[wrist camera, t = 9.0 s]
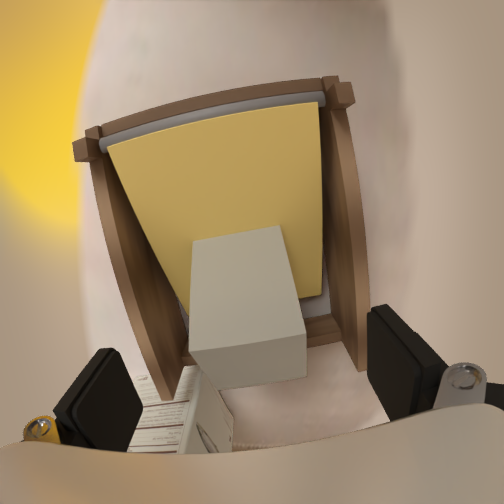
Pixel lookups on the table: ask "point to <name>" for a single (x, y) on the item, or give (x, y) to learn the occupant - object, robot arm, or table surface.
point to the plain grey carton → (245, 311)
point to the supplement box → (182, 417)
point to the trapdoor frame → (154, 278)
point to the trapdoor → (227, 181)
